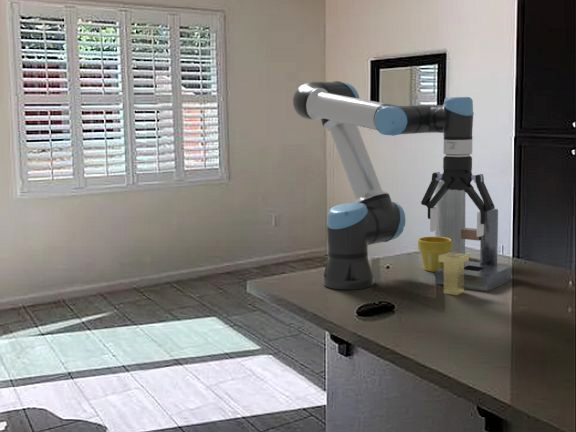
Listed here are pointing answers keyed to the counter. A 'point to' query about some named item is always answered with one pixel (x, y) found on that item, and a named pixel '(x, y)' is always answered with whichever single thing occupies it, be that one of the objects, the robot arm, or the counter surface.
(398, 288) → the counter surface
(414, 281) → the counter surface
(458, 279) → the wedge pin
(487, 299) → the counter surface
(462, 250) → the vase
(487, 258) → the gray post stand
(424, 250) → the plant pot
